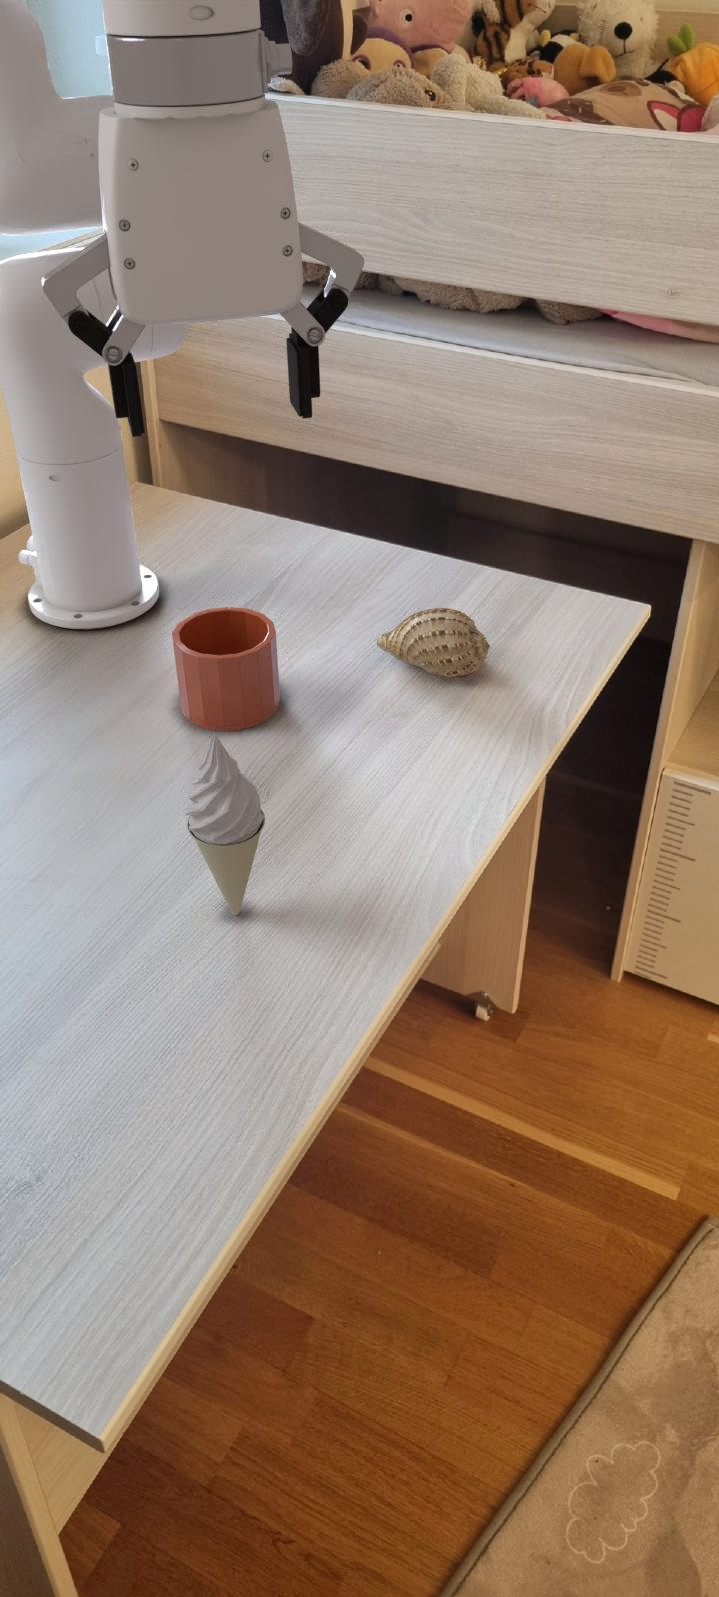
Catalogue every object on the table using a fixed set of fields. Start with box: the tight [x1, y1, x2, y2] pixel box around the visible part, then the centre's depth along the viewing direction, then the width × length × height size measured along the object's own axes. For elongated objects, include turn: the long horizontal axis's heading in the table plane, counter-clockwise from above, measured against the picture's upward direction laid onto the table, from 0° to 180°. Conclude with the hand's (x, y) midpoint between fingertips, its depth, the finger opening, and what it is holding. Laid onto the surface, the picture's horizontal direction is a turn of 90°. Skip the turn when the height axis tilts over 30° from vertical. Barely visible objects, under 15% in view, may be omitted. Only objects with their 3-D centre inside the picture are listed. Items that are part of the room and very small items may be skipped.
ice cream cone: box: [184, 732, 266, 916], centre depth 77 cm, size 5×5×15 cm
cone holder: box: [171, 606, 281, 732], centre depth 100 cm, size 8×8×7 cm
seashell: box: [376, 607, 491, 679], centre depth 106 cm, size 8×6×10 cm
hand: (219, 419), depth 69 cm, fingers open, 9 cm apart
